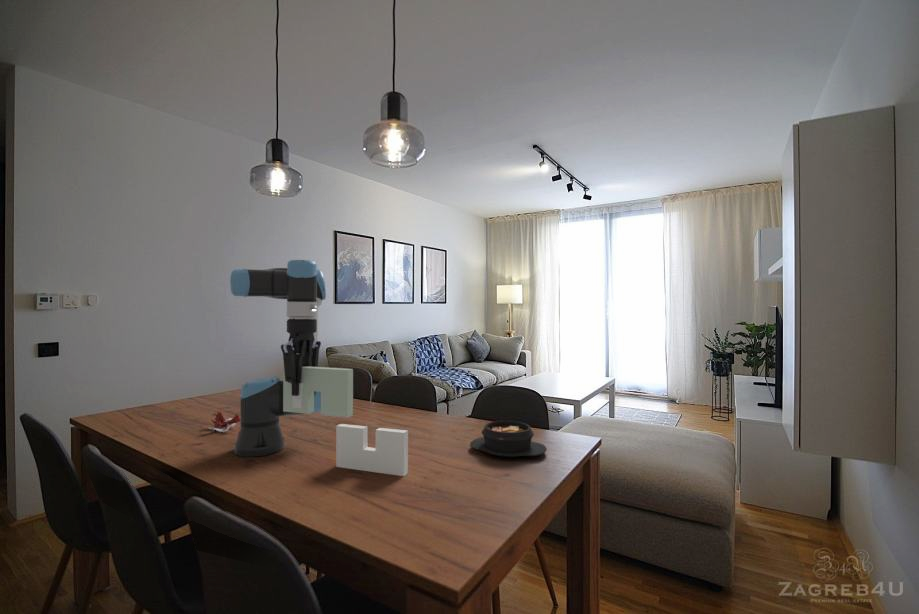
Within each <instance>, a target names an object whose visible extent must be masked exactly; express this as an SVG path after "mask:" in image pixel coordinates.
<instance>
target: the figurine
mask: <svg viewBox="0 0 919 614" xmlns="http://www.w3.org/2000/svg"><path fill="white" fill-rule="evenodd" d="M211 415H213V416H215V417H214V420H213V419H210V421H211V422H212V423H213V426H212V427H211V426H208V427H207V428H208V429H210V430H212V431H214V432H218V433H221V432H223V433H225V432H228V431H229V429H230V428H231V427H232V428H234V427H235V426H236V425H237V424H238V423H239V422H241V414H233V415H234V417H233V418H231V417H229V418H224V415H223V414H222V412H221V411H219V410H216V411H215V412H214V413H212V414H211ZM215 430H216V431H215Z"/></svg>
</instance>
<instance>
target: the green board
mask: <svg viewBox="0 0 919 614" xmlns="http://www.w3.org/2000/svg"><path fill="white" fill-rule="evenodd" d="M282 370H283V371H282V375H283V380H282V381H283V411H284V412H294V413H305V414H304V415H308V414H309V413H312V412H314V391H316V392H321V412H320V416H327V417H335V418H349V417H353V416H354V369H353V368H343V367H342V368H341V367H326V366H325V367H324V366H318V367H309V366H302V371H301V382H300V383H303V408H292V384H291V383H288V382H286V381H285V372H284V366H283V369H282ZM312 414H313V413H312ZM309 415H310V414H309Z"/></svg>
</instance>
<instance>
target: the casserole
mask: <svg viewBox="0 0 919 614" xmlns="http://www.w3.org/2000/svg"><path fill="white" fill-rule="evenodd" d="M483 427H484V428H483V429H482V431H481V434H482V437H481V436H480V437H477V438H475V439H473V440H472V441H470V443H469V446H470V447H471V448H472V449H475V450H479V451H481V452H484V453H488V454H490V455H494V456H496V457H501V458H516V457H517V458H518V457H523V456H524V457H537V456H541V455H543V454H545V452H547V446H545V445H544V444H543V443H540V442H537V441H532V438H533V437H534V435H535V432H534V431H532V428H531V427H532V426H530V424H527V423H525V422H522V421H516V420H496V421H495V420H494V421H491V422H490V421H489V422H487V423H486V424H485V425H484V426H483Z"/></svg>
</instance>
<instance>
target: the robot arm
mask: <svg viewBox="0 0 919 614" xmlns="http://www.w3.org/2000/svg"><path fill="white" fill-rule="evenodd" d="M317 265H318V264H317V262H315V261H314V260H310V259H309V260H308V259H290V260H289V261H287V266H286V267H275V268H274V267H273V268H266V269H251V268H250V269H247V268H243V269H242V268H241V269H240V268H239V269H238V268H236V269H233V270H232V271H231V273H230V278H229V279H230V285H229V286H230V292H231V294H232V295H233V296H236V297H243V298H245V297H263V298H268V299H269V298H270V299H274V300H275V299H278V300H286V317H287V318H288V319H287V320H286V333H288V334H289V337H288V342H287V343H285V344H281V345H280V349H281V351H282V356H283V367H284V372H285V381H286V382H288V383H291V384H292V408H303V383H300V382H301V371H302V366H309V367H319V357H320V348H321V345H322V342H321V341H320V340H319V330H318V329H319V327H318V326H319V321H318V320H319V318H318V317H319V310H318V309H319V307H320V306H321V305H322V304H323V301H324V300H326V298H327V292H326V281H325V277H324V273H323V272H322V271H321V270H320V269H318V267H317ZM239 399H240V417H241V418H240V420H241V421H240V427H239V431H238V433H237V438H236V442H235V443H234V446H233V449H234V450H233V452H234V455H236V456H237V457H238V456H239V457H244V458H246V457H247V458H249V457H261V456H267V455H272V454H274V453H277V452H280V451H282V450H283V449H284V448H285V447H286V439H285V437H284V436H283V431H282V428H281V423H280V417H287V416H297V415H298V416H299V415H306V414H305V413H294V412H284V411H283V380H281V378H280V376H276V375H275V376H265V377H259V378H254V379H251V380H248V381H246V382H244V383H242V384H241V387H240V396H239ZM318 413H321V392H316V391H314V412H312V413H309V414H307V415H312V414H318Z"/></svg>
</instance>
